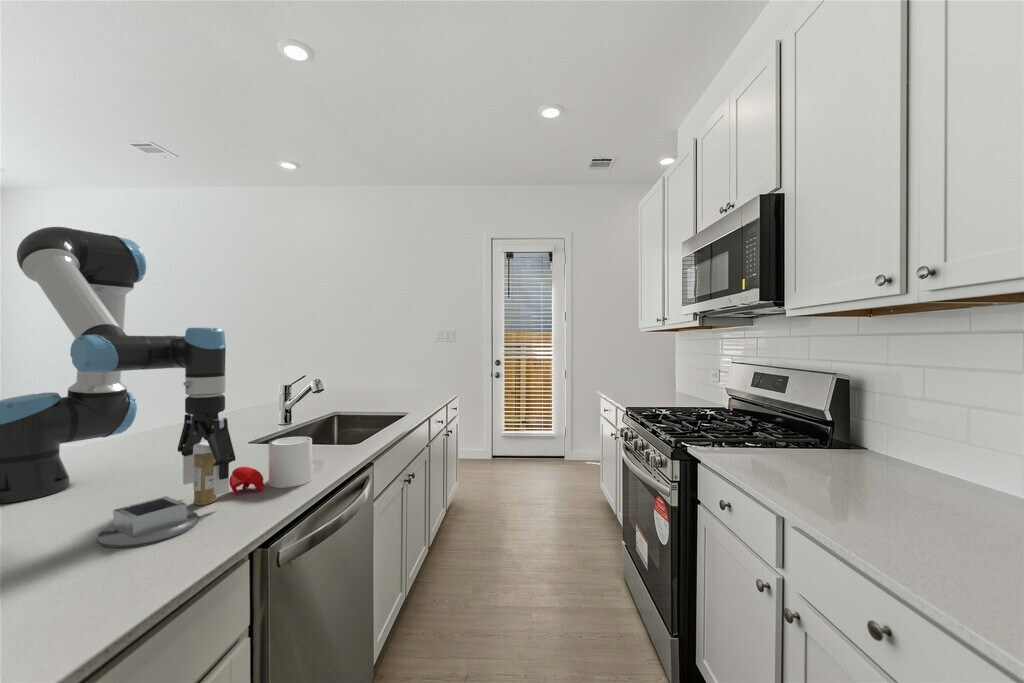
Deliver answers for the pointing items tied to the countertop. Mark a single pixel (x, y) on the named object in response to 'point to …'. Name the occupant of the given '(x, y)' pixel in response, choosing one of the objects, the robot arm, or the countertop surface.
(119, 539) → the square hole disc
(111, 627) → the countertop surface
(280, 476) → the mug
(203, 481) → the sprinkles bottle
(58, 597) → the countertop surface
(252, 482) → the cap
